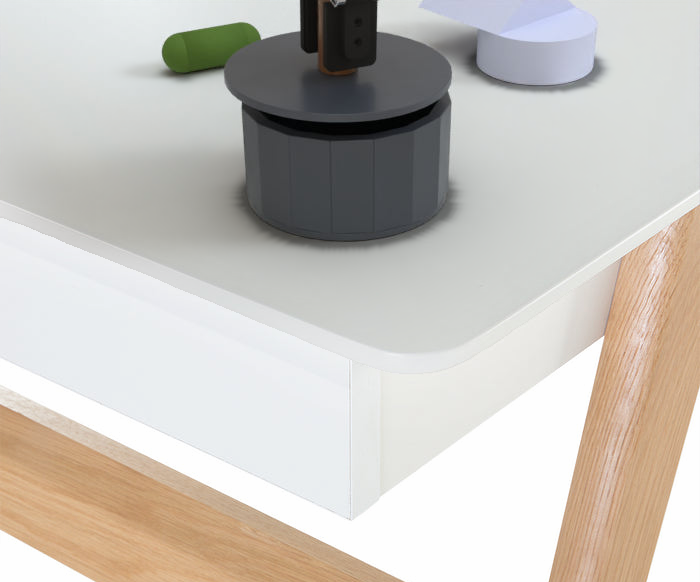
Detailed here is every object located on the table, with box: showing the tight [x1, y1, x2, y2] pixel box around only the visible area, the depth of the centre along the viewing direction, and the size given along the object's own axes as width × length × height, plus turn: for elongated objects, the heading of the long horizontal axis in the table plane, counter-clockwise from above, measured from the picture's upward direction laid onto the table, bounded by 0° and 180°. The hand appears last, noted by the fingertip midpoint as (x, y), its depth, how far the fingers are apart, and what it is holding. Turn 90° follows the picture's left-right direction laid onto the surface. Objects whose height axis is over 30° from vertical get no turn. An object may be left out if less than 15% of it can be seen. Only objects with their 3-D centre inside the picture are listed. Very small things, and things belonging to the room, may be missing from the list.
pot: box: [240, 90, 453, 242], centre depth 77 cm, size 13×13×6 cm
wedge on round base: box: [418, 0, 598, 86], centre depth 95 cm, size 9×7×13 cm
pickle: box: [161, 21, 262, 74], centre depth 95 cm, size 8×3×3 cm, turn 116°
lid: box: [223, 0, 453, 122], centre depth 72 cm, size 14×14×6 cm
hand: (338, 55), depth 73 cm, fingers closed on lid, 2 cm apart
